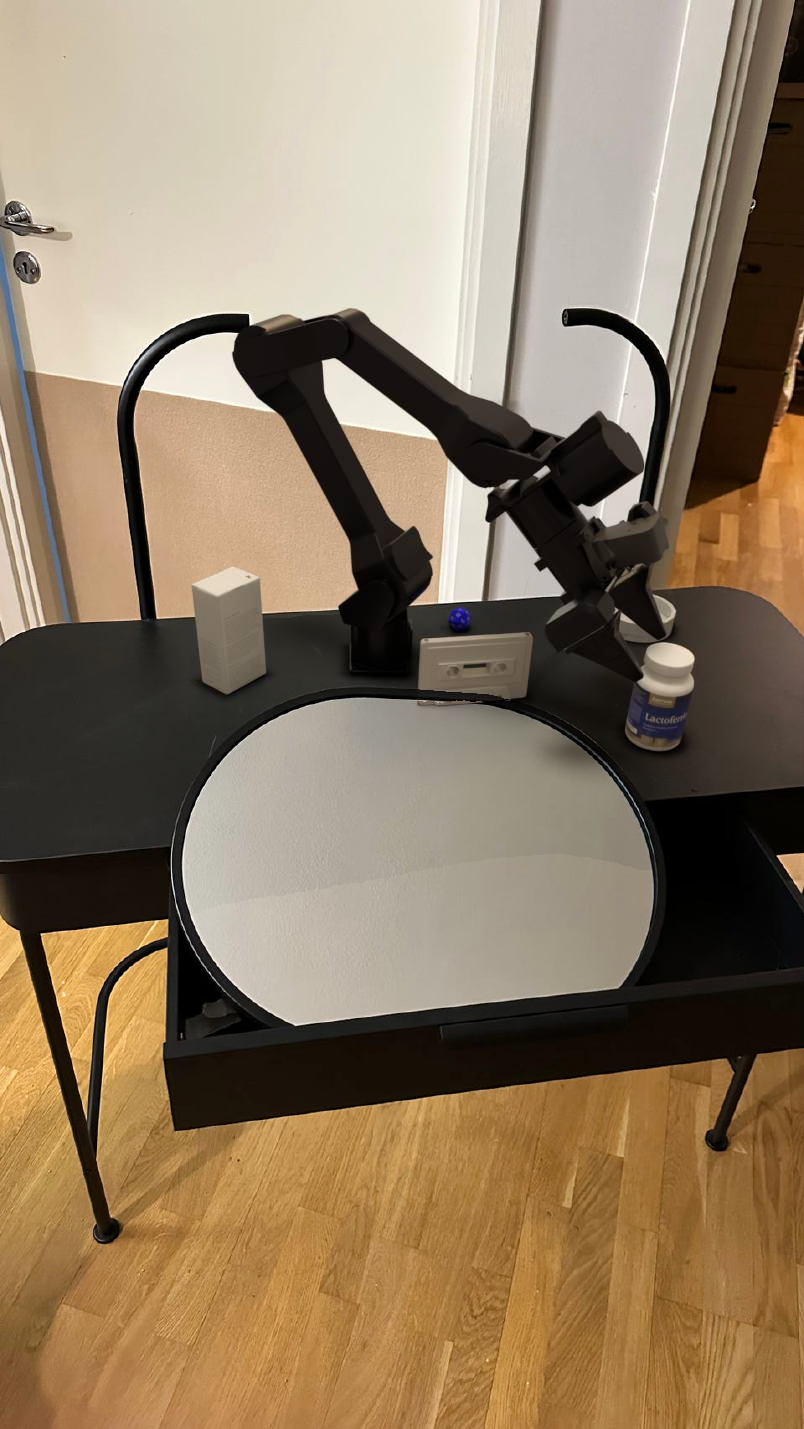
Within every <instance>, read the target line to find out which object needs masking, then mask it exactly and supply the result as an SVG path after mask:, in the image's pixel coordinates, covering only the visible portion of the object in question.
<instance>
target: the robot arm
mask: <svg viewBox="0 0 804 1429" xmlns="http://www.w3.org/2000/svg"><path fill="white" fill-rule="evenodd" d="M231 357H232V362H233V364H234V367H235V369H236V371H237V372H238V374H239V375H240V376H241V378H242V379H243V381H244V383H246V385H247V386H248V388H249V389H250V390H251V392H252V393H253V394H254V396H255V397H256V398H257V399H258V400H259V401H260V402H262V403H263V404H265V405H266V406H267V407H268V408H269V409H271V410H272V411H273V412H275V413H276V414H277V415H279V416H280V417H281V418H282V420H283V421H284V423H285V424H286V426H287V428H288V430H289V432H290V433H291V436H292V437H293V439H294V441H295V443H296V445H297V446H298V448H299V450H300V453H301V454H302V457H303V458H304V460H305V461H306V463H307V465H308V467H309V469H310V471H311V473H312V475H313V477H314V478H315V480H316V482H317V483H318V484H317V485H318V486H319V487H320V489H321V491H322V493H323V495H324V497H325V499H326V501H327V503H328V505H329V506H330V508H331V510H332V512H333V514H334V515H335V518H336V519H337V520H338V523H339V525H340V527H341V529H342V531H343V532H344V534H345V536H346V538H347V540H348V542H349V550H350V552H349V553H350V568H351V569H350V570H351V574H352V577H353V580H354V583H355V585H356V588H357V589H356V590H355V591H354V592H353V593H351V594H350V595H349V596H347V598H345V599H344V600H343V601H342V602H341V603H340V604H339V605H338V606H337V609H338V612H339V615H340V617H341V621H342V623H343V624H344V625H347V626H350V643H349V673H350V674H352V675H407V674H408V672H409V667H408V666H409V664H408V663H410V662H412V657H413V637H414V636H413V634H414V630H413V620H411V619H410V618H409V616H408V608H409V607H410V606H411V605H412V604H413V603H414V602H415V601H417V599H418V598H419V597H420V596H421V595H422V594H424V592H425V591H427V589H428V588H429V586H430V585H431V583H432V582H431V581H432V579H433V575H434V571H433V570H434V569H433V567H432V564H431V561H432V559H433V558H434V555H433V554H432V553H431V552H430V551H428V548H426V546H425V545H424V542H423V540H422V537H421V534H420V531H419V530H418V528H417V527H416V526H415V525H412V526H410V527H409V528H407V529H406V530H404V529H403V528H402V527H400V526H399V525H398V524H396V523H395V522H394V521H392V520H391V518H390V517H389V515H388V514H387V512H386V509H385V507H384V506H383V504H382V502H381V500H380V498H379V496H378V494H377V493H376V490H375V489H374V487H373V485H372V483H371V480H370V478H369V477H368V475H367V473H366V471H365V469H364V468H363V465H362V463H361V461H360V459H359V458H358V456H357V454H356V452H355V450H354V448H353V446H352V444H351V442H350V441H349V439H348V437H347V435H346V433H345V431H344V429H343V427H342V425H341V423H340V421H339V419H338V417H337V416H336V413H335V411H334V410H333V408H332V405H331V404H330V402H329V400H328V398H327V395H326V392H325V379H324V378H325V377H324V364H323V363H324V362H323V361H328V360H333V359H335V360H337V361H339V362H340V363H341V364H342V365H343V366H345V367H346V368H348V369H349V370H350V371H351V372H353V374H356V375H357V376H358V377H360V378H361V379H362V380H364V381H365V382H366V383H367V384H368V385H370V386H371V387H372V388H374V389H375V390H377V391H378V392H379V393H381V395H383V396H384V397H385V398H387V399H388V400H390V401H391V402H392V403H393V404H394V405H396V406H397V407H398V408H400V409H401V410H403V411H404V412H405V413H407V414H408V415H409V416H411V418H413V419H414V420H416V421H417V422H418V423H420V424H421V425H422V426H423V427H425V428H426V429H427V430H428V431H429V432H430V433H431V434H432V435H433V436H434V437H435V439H436V440H437V442H438V444H439V446H440V448H441V450H442V452H443V453H444V456H445V457H446V458H447V459H448V460H449V461H450V463H451V464H452V465H453V466H454V467H455V468H456V469H457V470H458V471H459V472H460V473H461V474H462V476H464V477H465V479H466V480H467V481H468V482H470V483H471V484H472V485H475V486H476V487H478V488H480V489H481V488H482V489H488V488H489V489H491V488H493V489H492V490H491V491H490V492H488V493H487V496H486V497H487V498H486V499H487V507H486V511H485V516H484V520H485V522H486V523H489V524H490V523H492V522H494V521H495V520H496V519H498V518H499V517H501V516H502V515H503V514H505V513H506V514H507V516H508V517H509V519H510V520H511V521H512V523H513V524H514V525H515V527H516V528H517V529H518V530H519V532H520V534H521V535H522V536H523V537H524V539H525V540H526V542H527V543H528V544H529V545H530V547H531V548H532V549H533V551H534V553H535V554H536V555H537V556H538V558H537V559H536V561H535V562H534V563H533V565H534V566H535V568H536V569H537V570H538V572H539V573H541V572H542V571H544V570H545V569H548V571H549V572H550V573H551V574H552V576H553V578H554V579H555V580H556V581H557V583H558V584H559V586H560V587H561V588H562V590H563V591H562V593H561V594H560V596H559V597H558V598H559V599H560V601H561V602H562V604H563V606H561V607H559V608H558V609H556V611H555V612H554V613H553V615H552V616H551V617H550V618H549V619H548V621H546V624H545V625H544V626H545V627H544V631H543V638H544V640H545V641H546V642H547V644H548V645H549V646H550V648H551V649H552V650H553V652H554V653H555V654H558V653H561V652H562V651H563V652H564V653H565V654H566V655H569V654H571V653H572V654H574V655H577V656H579V657H582V658H584V659H586V660H589V661H591V662H594V663H595V664H598V665H600V666H602V667H604V668H605V669H608V670H609V671H612V672H614V673H616V674H617V675H619V676H621V677H624V678H625V679H627V680H630V681H631V682H633V683H634V682H637V681H639V680H641V679H643V677H644V674H643V672H642V670H641V666H640V664H639V662H638V660H637V658H636V657H635V655H634V654H633V652H632V650H631V648H630V647H629V645H628V643H627V641H626V640H624V638H623V636H622V635H621V633H620V631H619V625H620V618H621V612H622V613H623V614H624V615H625V616H627V617H628V618H629V619H630V620H632V621H633V622H634V623H635V624H637V625H638V626H639V627H640V628H642V629H643V630H644V631H645V632H647V633H648V634H649V635H651V636H652V637H654V638H655V639H656V640H660V641H662V640H661V639H662V638H664V637H666V635H667V633H666V630H665V627H664V624H663V621H662V619H661V616H660V613H659V610H658V607H657V605H656V602H655V599H654V596H653V595H654V593H653V590H652V586H651V577H652V572H653V569H654V566H655V563H657V562H659V561H661V560H663V557H664V553H665V552H666V550H669V548H670V542H669V539H668V536H667V532H666V527H667V526H668V524H669V521H668V519H667V518H666V517H664V516H663V515H662V514H663V513H662V511H657V510H656V508H655V507H653V505H652V504H651V503H650V502H649V501H647V500H646V501H642V502H637V503H634V504H633V505H632V506H631V507H630V508H629V509H628V513H627V518H626V520H625V519H622V520H620V521H619V522H618V523H616V524H613V525H609V526H607V525H605V524H604V522H603V521H602V519H601V518H599V517H596V516H595V515H593V516H591V517H590V518H588V519H587V517H586V516H585V515H584V513H583V512H582V511H581V509H580V508H579V506H581V505H583V506H586V507H587V508H588V507H589V508H592V507H595V506H596V505H598V504H599V503H601V502H602V501H603V500H605V499H606V498H608V497H609V496H611V495H612V494H614V493H616V492H617V491H618V490H619V489H621V488H622V487H624V486H625V485H627V484H628V483H629V482H631V481H632V480H634V479H635V478H637V477H638V476H640V475H641V474H642V473H644V471H645V459H644V456H643V454H642V451H641V448H640V447H639V445H638V443H637V442H636V440H635V438H634V436H632V434H631V433H630V431H626V430H624V428H623V427H622V426H620V425H619V424H618V423H616V422H615V421H613V420H609V419H608V418H607V417H606V415H605V414H604V412H603V411H601V410H597V411H595V412H594V413H593V414H592V415H590V416H589V417H588V418H587V419H586V420H585V421H584V422H582V423H581V425H580V426H579V427H578V428H577V429H576V430H574V431H573V432H572V433H570V434H569V435H568V436H566V437H564V436H562V435H559V434H556V433H552V432H549V431H546V430H542V429H539V428H536V427H534V426H532V425H531V424H530V423H529V422H528V420H526V418H524V417H523V416H521V415H520V414H518V413H516V412H514V411H513V410H510V409H509V408H507V407H505V406H503V405H501V404H499V403H498V402H495V401H493V400H489V399H486V398H483V397H479V396H475V395H472V394H470V393H468V392H466V391H465V390H462V389H460V388H459V387H457V386H456V385H454V384H453V383H452V382H451V381H449V380H448V379H447V378H446V377H445V376H443V375H441V374H440V373H439V372H437V371H436V370H435V369H434V368H433V367H431V366H430V365H428V364H427V363H426V362H424V361H423V360H422V359H420V358H419V357H418V356H417V355H415V353H413V352H412V351H410V350H409V349H407V347H405V346H404V345H403V344H401V343H400V342H399V341H397V340H396V339H394V338H393V337H392V336H390V335H389V333H386V332H385V331H384V330H383V329H381V328H380V327H379V326H377V325H376V324H374V322H372V321H371V319H370V317H369V316H368V315H367V314H366V313H365V312H364V311H362V310H360V309H358V308H354V307H348V308H345V309H343V310H340V311H337V312H335V313H332V314H331V313H330V314H326V315H320V316H316V317H312V318H308V319H304V320H303V319H302V318H301V317H297V316H295V315H292V314H289V313H288V314H287V313H286V314H285V313H284V314H279V315H276V316H273V317H271V318H267V319H265V320H262V321H258V322H256V323H253V324H250V325H248V326H245V327H243V328H242V329H241V330H240V331H239V332H237V335H236V337H235V339H234V341H233V351H231ZM545 467H547V468H548V469H549V470H548V471H546V472H545V473H543V474H542V475H541V476H539V477H538V476H536V474H537V473H538V472H540V471H541V470H542V469H543V468H545ZM508 481H515V482H513V483H512V484H511V485H510V486H508V487H507V488H501V487H500V486H502V485H504V484H506V483H507V482H508ZM615 608H617V609H618V610H619V611H617V612H616V613H614V612H615V611H616V610H615Z"/></svg>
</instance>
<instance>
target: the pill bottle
mask: <svg viewBox="0 0 804 1429" xmlns="http://www.w3.org/2000/svg"><path fill="white" fill-rule="evenodd" d="M643 663H644V664H643V665H641V666H640V668H641V670H642V672H643V674H644V677H643V679H641V680H639V681H637V682H633V688H632V693H631V697H630V701H629V705H628V706H629V707H628V711H627V716H626V721H625V726H624V727H625V728H624V732H625V735H626V738H628V740H629V741H630V742H631V743H632V744H634V745H636V746H637V747H639V748H641V749H643V750H648V751H654V752H665V751H669V750H670V751H671V750H672V749H674V748H676V747H677V746H678V745H679V744H680V742H681V740H682V737H683V734H684V729H685V724H686V720H687V716H688V712H689V708H690V704H691V701H692V700H691V699H692V696H693V692H694V687H695V679H694V677H693V675H692V671H693V668H694V664H695V656H694V654H693V652H691V650H689V649H688V648H686V647H684V646H682V645H679V644H676V643H671V642H655V643H652V644H650V645H649V646H648V647H647V648H646V650H645V654H644V657H643Z"/></svg>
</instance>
